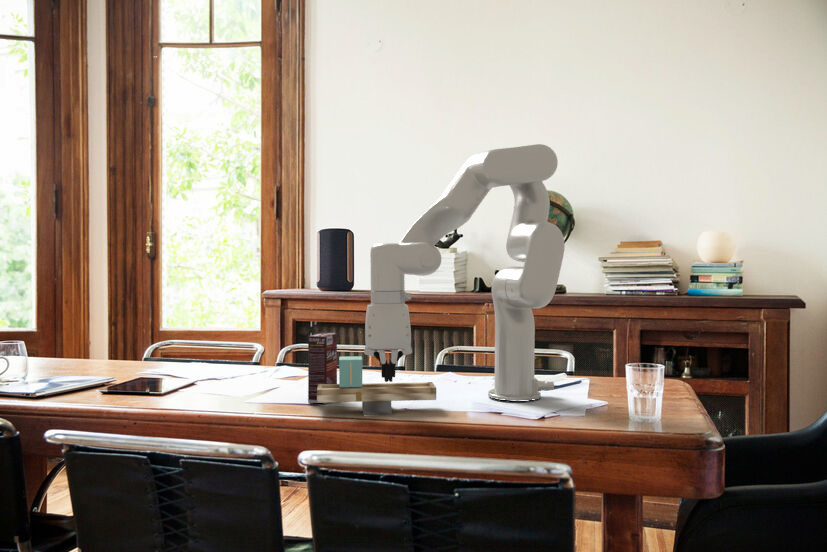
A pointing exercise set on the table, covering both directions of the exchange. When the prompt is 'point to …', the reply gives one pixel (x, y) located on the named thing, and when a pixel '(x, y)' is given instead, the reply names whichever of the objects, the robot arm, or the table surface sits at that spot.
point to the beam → (377, 395)
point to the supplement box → (321, 362)
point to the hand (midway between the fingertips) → (388, 380)
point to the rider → (350, 372)
